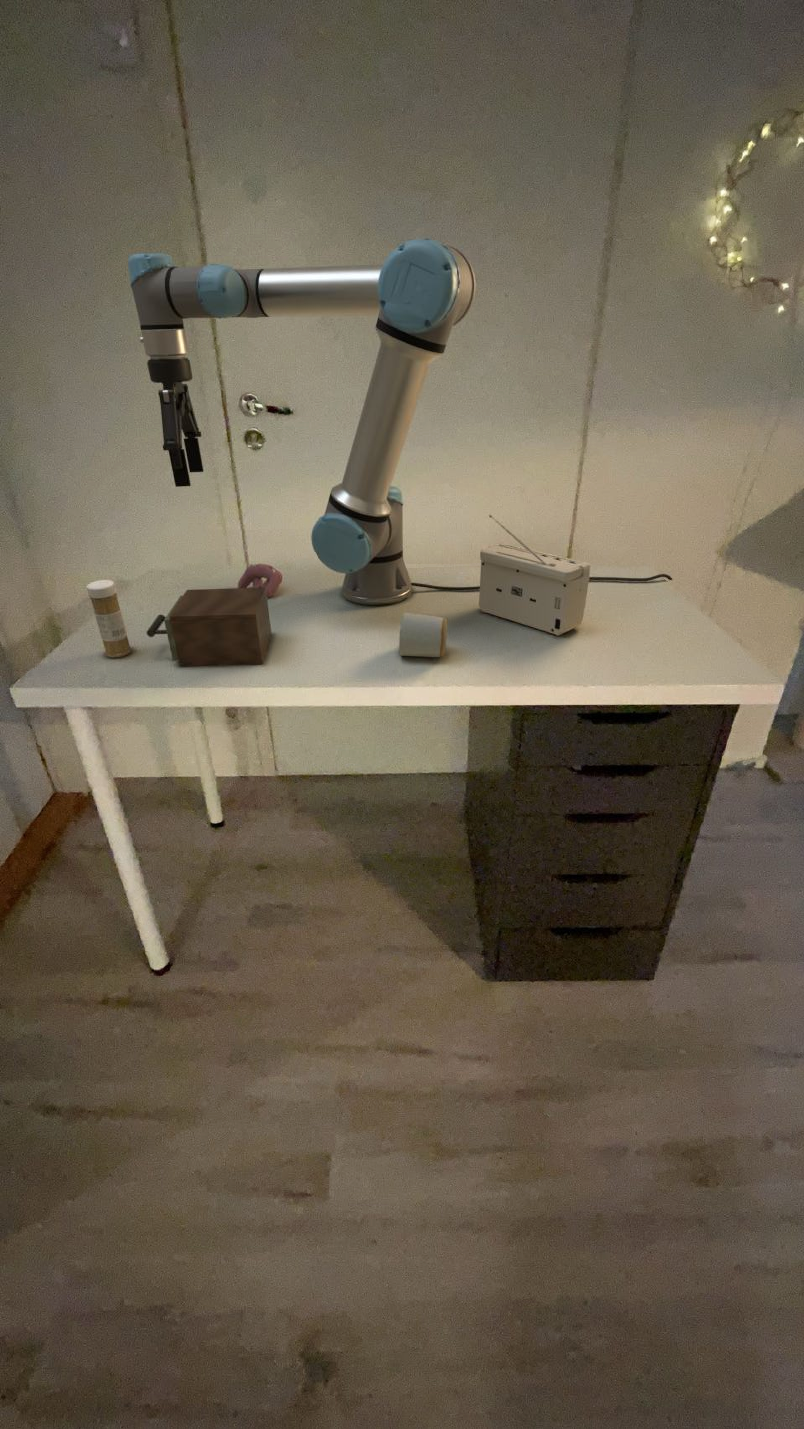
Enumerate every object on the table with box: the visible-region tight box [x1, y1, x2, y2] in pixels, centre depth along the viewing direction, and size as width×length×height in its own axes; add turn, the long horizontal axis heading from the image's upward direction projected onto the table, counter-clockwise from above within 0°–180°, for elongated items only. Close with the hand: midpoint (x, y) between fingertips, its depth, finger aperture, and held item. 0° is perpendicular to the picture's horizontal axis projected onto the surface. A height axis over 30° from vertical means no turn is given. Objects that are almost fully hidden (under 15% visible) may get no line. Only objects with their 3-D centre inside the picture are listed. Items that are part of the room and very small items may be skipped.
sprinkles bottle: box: [86, 579, 132, 658], centre depth 117 cm, size 5×5×13 cm
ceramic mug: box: [398, 612, 448, 658], centre depth 118 cm, size 11×8×8 cm
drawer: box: [146, 595, 183, 661], centre depth 118 cm, size 18×11×8 cm, turn 92°
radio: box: [478, 514, 591, 637], centre depth 126 cm, size 21×8×20 cm, turn 47°
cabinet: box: [169, 587, 272, 667], centre depth 119 cm, size 15×13×10 cm
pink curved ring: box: [237, 563, 283, 599], centre depth 146 cm, size 10×5×7 cm, turn 58°
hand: (190, 479), depth 130 cm, fingers open, 13 cm apart
